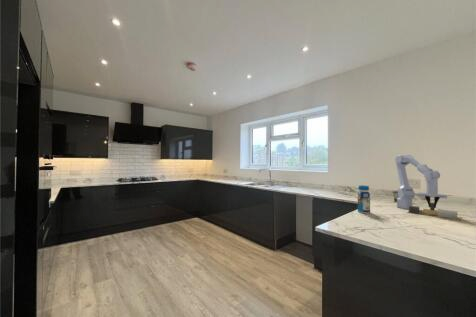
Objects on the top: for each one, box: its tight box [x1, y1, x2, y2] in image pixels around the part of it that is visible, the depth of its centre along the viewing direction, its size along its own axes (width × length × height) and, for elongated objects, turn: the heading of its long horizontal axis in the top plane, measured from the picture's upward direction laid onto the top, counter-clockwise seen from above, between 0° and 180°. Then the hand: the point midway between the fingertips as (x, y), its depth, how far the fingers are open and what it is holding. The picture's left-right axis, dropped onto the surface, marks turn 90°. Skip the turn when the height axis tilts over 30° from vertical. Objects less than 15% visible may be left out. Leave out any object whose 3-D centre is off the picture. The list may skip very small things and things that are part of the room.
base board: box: [406, 210, 462, 222], centre depth 142 cm, size 26×12×1 cm, turn 42°
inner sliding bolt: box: [422, 202, 438, 215], centre depth 139 cm, size 16×3×8 cm, turn 42°
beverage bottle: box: [357, 185, 371, 214], centre depth 154 cm, size 8×8×20 cm
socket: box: [408, 204, 420, 214], centre depth 149 cm, size 5×7×4 cm
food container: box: [392, 190, 400, 203], centre depth 193 cm, size 12×6×10 cm, turn 59°
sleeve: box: [437, 208, 459, 219], centre depth 136 cm, size 9×4×4 cm, turn 42°
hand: (432, 207), depth 142 cm, fingers closed on inner sliding bolt, 2 cm apart
